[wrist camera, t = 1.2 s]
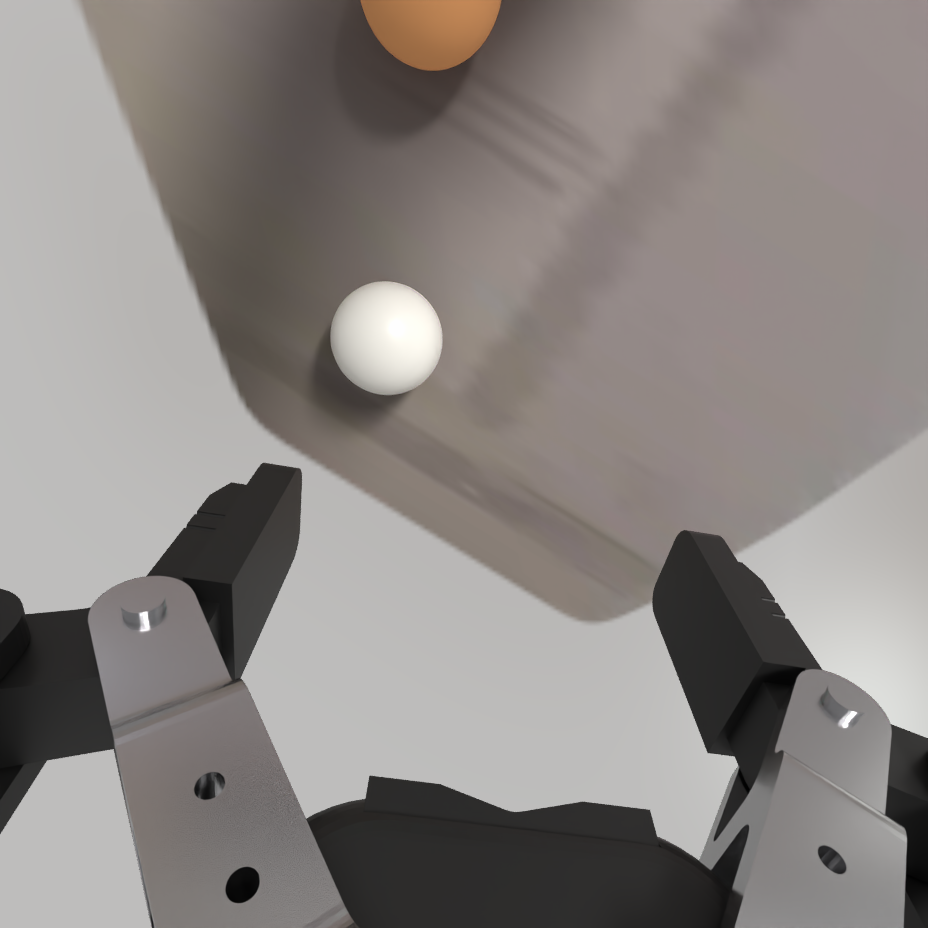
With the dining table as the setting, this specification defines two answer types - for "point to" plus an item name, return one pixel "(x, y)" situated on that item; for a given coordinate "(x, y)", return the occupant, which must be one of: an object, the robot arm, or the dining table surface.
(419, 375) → the cue ball
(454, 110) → the dining table surface
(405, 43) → the orange ball
